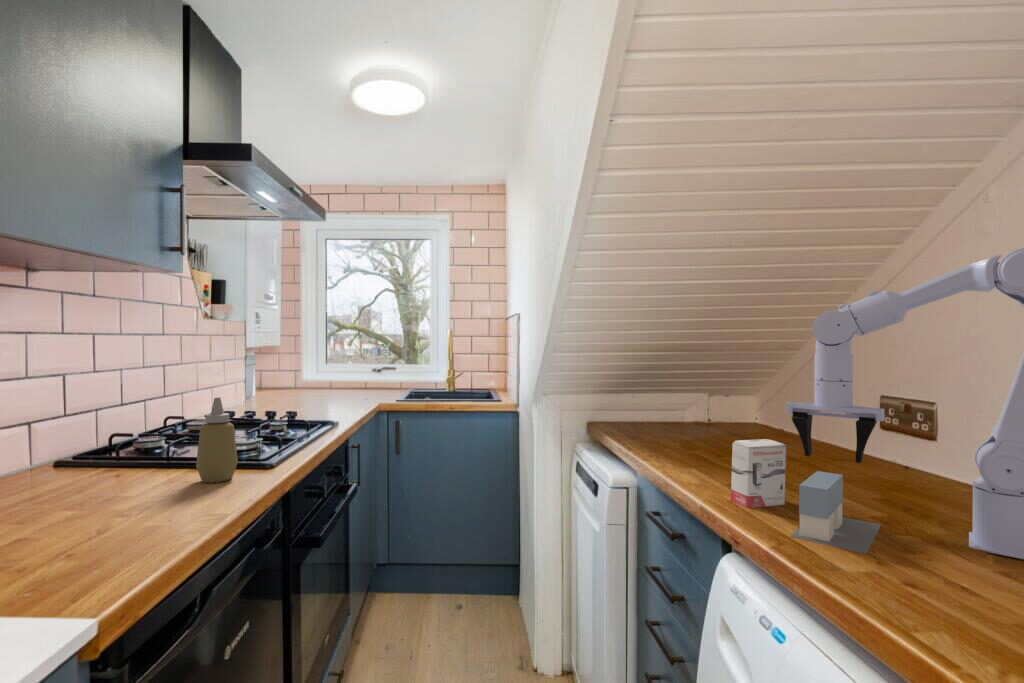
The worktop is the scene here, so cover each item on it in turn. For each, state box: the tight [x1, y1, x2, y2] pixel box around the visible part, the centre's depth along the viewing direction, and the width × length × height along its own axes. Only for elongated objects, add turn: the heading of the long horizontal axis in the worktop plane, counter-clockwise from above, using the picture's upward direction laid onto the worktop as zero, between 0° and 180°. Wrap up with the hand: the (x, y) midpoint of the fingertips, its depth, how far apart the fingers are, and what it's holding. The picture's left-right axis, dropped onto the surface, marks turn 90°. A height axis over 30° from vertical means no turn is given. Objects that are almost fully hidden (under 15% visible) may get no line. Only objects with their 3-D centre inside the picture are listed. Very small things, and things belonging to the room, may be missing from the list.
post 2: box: [834, 502, 843, 529], centre depth 88 cm, size 4×4×4 cm
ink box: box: [730, 438, 787, 509], centre depth 99 cm, size 9×5×12 cm, turn 106°
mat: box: [789, 516, 882, 555], centre depth 85 cm, size 10×16×1 cm, turn 139°
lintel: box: [798, 470, 844, 519], centre depth 85 cm, size 4×12×4 cm, turn 138°
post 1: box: [799, 512, 834, 542], centre depth 83 cm, size 4×4×4 cm
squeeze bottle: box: [195, 397, 239, 484], centre depth 115 cm, size 8×8×18 cm
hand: (832, 458), depth 92 cm, fingers open, 7 cm apart
